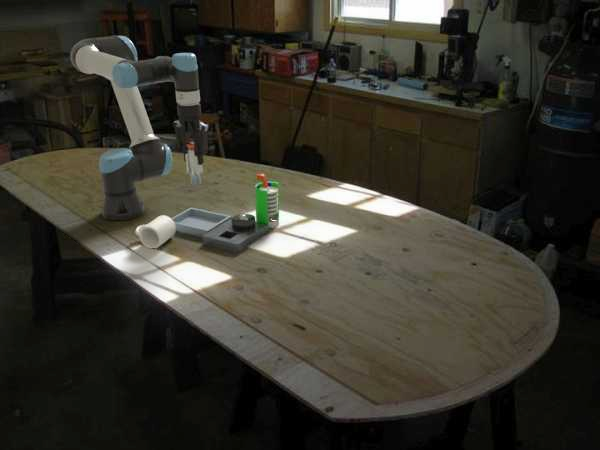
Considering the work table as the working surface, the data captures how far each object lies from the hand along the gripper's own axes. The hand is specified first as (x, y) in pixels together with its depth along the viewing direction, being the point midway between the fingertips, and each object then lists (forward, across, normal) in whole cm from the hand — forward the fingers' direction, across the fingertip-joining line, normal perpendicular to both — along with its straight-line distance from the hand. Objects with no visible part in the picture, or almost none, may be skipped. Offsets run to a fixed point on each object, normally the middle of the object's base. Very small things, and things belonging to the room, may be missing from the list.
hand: (194, 172), depth 203 cm
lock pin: (+4, 0, 0) cm, 4 cm away
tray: (+20, 0, 0) cm, 20 cm away
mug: (+20, -6, -17) cm, 27 cm away
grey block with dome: (+20, +17, -2) cm, 26 cm away
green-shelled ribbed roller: (+20, +20, +13) cm, 31 cm away
